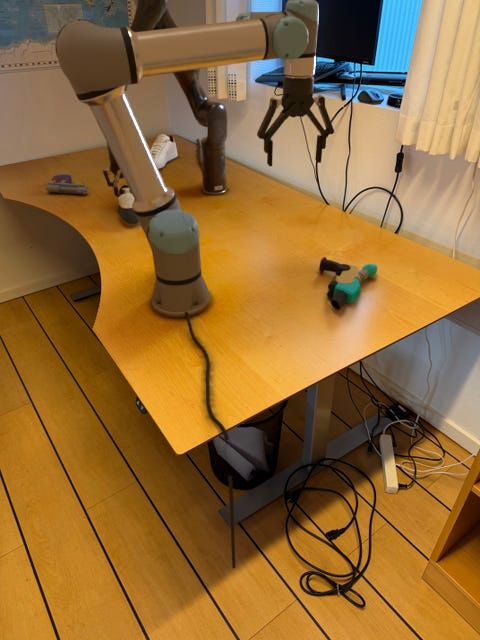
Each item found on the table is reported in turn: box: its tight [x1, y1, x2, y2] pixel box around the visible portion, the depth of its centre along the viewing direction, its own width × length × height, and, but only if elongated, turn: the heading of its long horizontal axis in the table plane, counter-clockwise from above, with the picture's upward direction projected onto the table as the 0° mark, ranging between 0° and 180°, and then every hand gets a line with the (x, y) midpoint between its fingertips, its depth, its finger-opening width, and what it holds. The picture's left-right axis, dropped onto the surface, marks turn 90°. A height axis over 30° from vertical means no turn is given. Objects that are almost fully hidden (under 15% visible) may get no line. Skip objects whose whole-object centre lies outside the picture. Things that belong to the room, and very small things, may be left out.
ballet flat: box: [116, 184, 140, 226], centre depth 169 cm, size 8×24×8 cm, turn 19°
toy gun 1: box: [45, 173, 89, 195], centre depth 192 cm, size 4×19×15 cm
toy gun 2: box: [318, 256, 378, 312], centre depth 129 cm, size 4×26×15 cm
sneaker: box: [150, 133, 179, 170], centre depth 214 cm, size 10×29×12 cm, turn 163°
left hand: (294, 163), depth 129 cm, fingers open, 13 cm apart
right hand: (126, 195), depth 175 cm, fingers closed on ballet flat, 5 cm apart
